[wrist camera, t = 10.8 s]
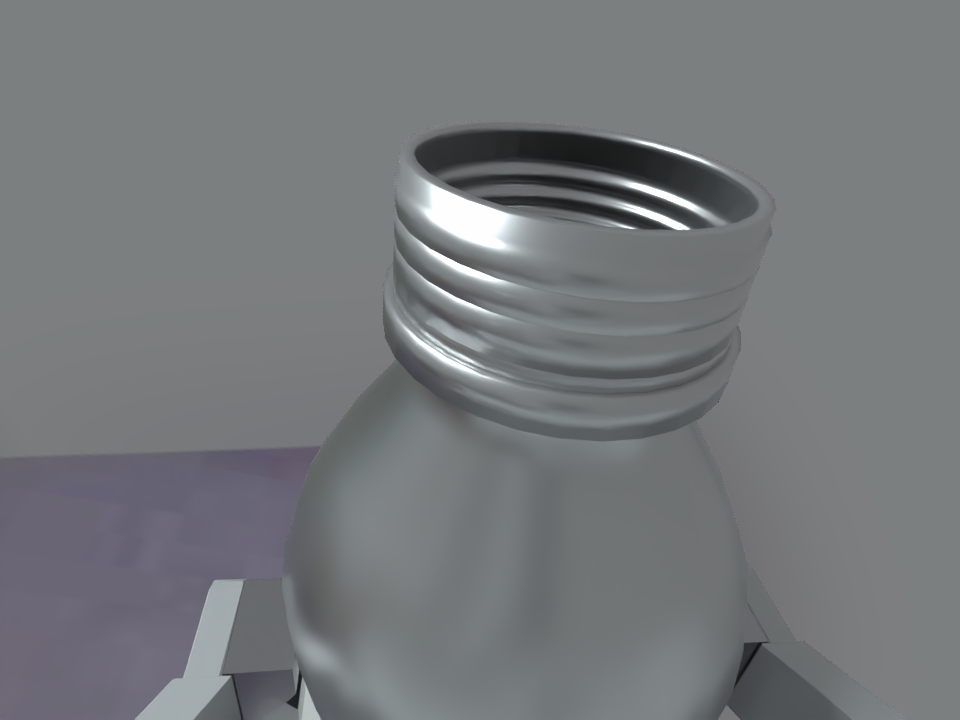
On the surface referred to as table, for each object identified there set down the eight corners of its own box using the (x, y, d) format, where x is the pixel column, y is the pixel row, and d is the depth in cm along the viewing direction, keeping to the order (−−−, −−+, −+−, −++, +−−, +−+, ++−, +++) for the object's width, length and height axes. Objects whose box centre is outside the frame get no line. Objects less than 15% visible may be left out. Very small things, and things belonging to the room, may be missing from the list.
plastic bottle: (535, 751, 20) (732, 116, 9) (588, 1060, 14) (1266, 365, 3) (336, 765, 19) (290, 76, 8) (309, 1102, 13) (43, 333, 3)
